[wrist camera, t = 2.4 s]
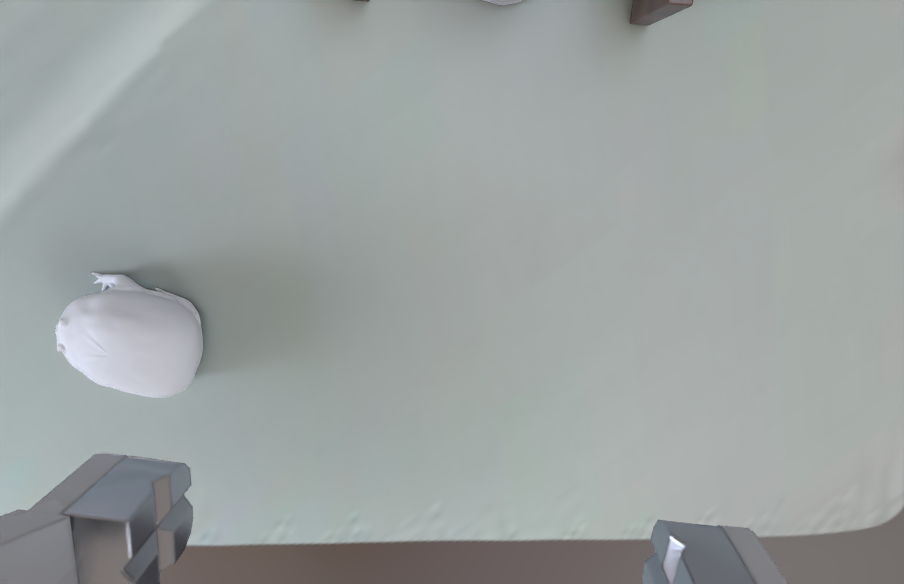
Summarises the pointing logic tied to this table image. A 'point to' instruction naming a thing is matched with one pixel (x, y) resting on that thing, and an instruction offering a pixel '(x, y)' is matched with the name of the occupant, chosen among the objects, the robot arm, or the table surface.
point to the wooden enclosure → (652, 10)
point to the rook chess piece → (503, 1)
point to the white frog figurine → (132, 338)
